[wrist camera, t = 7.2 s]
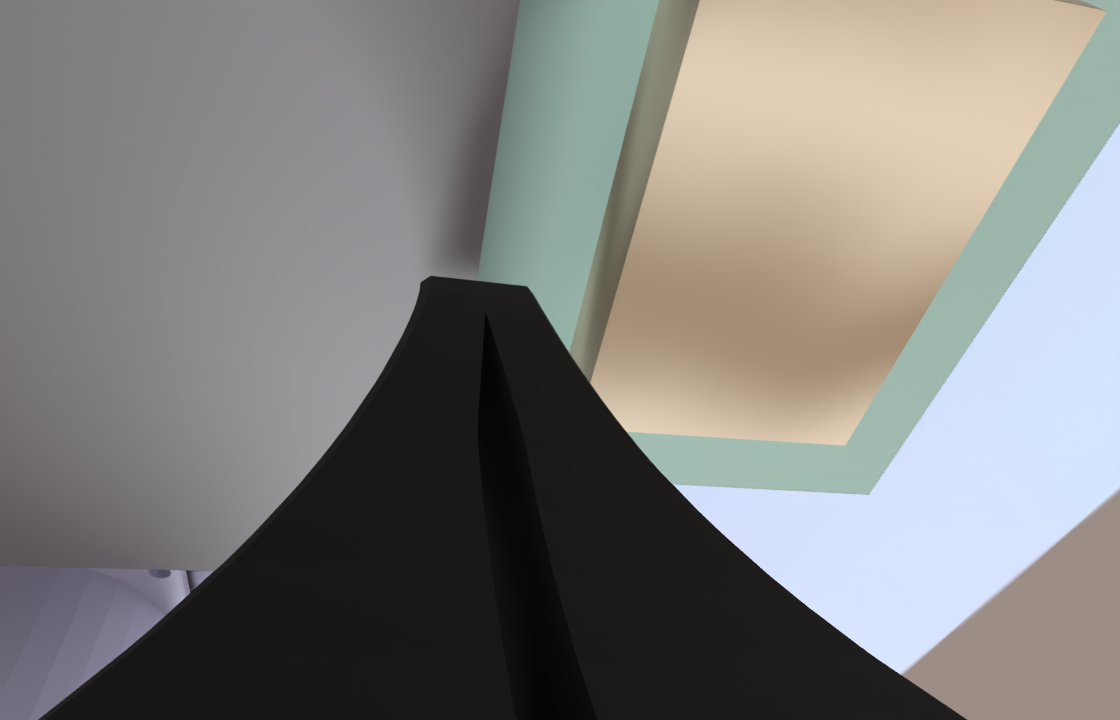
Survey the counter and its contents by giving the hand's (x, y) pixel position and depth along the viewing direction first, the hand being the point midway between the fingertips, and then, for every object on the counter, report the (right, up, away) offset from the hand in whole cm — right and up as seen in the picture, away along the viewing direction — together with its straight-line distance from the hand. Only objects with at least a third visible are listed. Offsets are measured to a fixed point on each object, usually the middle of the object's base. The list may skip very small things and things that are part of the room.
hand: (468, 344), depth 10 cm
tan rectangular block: (+5, +2, +3) cm, 6 cm away
